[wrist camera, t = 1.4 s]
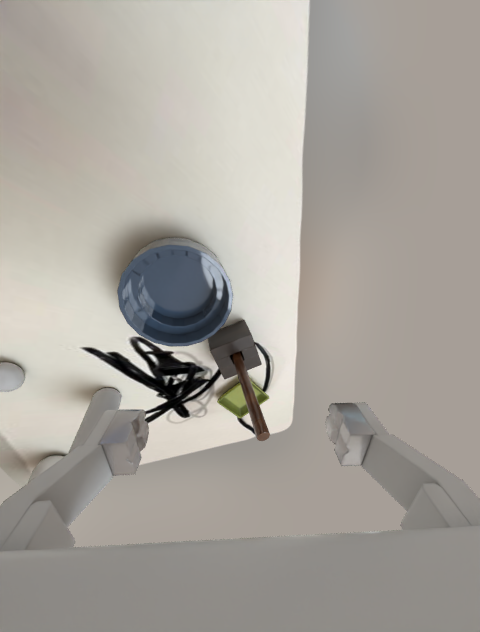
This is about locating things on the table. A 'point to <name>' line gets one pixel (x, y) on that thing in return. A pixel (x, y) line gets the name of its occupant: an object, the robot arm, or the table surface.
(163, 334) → the bowl
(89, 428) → the beverage can
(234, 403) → the saucer
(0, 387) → the smooth white sculpture
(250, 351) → the holder
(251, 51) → the table surface
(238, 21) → the table surface
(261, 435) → the stick
